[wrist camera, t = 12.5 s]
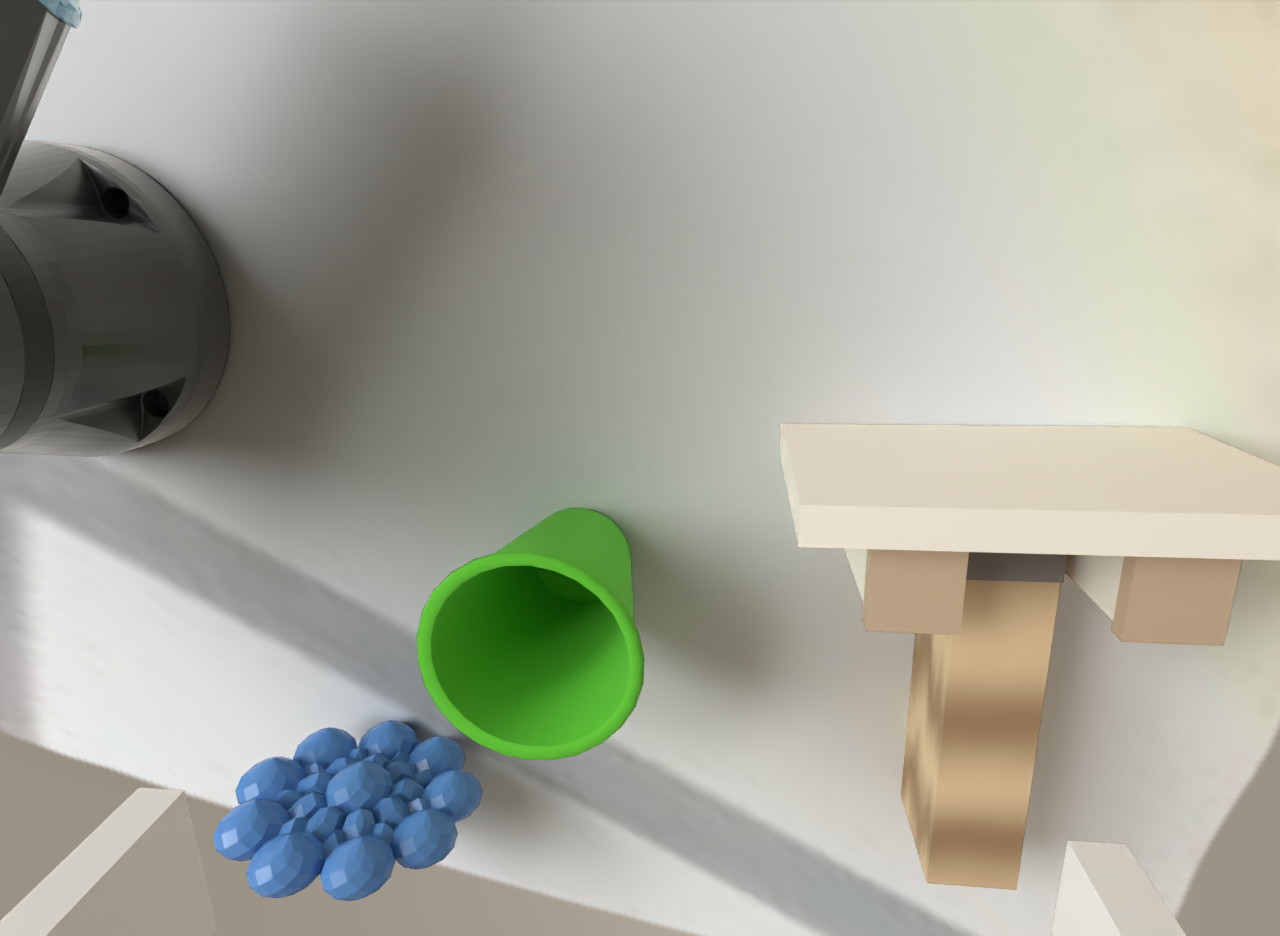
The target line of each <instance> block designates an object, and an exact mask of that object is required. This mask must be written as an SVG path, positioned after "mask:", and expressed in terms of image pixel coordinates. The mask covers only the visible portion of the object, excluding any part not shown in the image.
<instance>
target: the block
mask: <svg viewBox="0 0 1280 936" xmlns="http://www.w3.org/2000/svg"><path fill="white" fill-rule="evenodd" d="M1066 559H1067V555H1063V554H1026V553H990V552H969V556H968V566H967V575H966V584H965V593H964V603H963V612H962V621H961V630H960V635H947V634H922V633H915V644H914V655H913V667H912V678H911V689H910V701H909V712H908V723H907V735H906V746H905V757H904V768H903V780H902V791H901V797H902V800H903V804H904V807H905V810H906V814H907V817H908V820H909V824H910V827H911V831H912V834H913V837H914V841H915V844H916V848H917V851H918V854H919V858H920V861H921V864H922V868H923V871H924V875H925V878H926V881H927V883H933V884H947V885H960V886H973V887H986V888H999V889H1012V890H1016V889H1017V882H1018V875H1019V868H1020V861H1021V854H1022V847H1023V840H1024V833H1025V826H1026V819H1027V812H1028V805H1029V799H1030V792H1031V785H1032V778H1033V771H1034V764H1035V757H1036V750H1037V743H1038V736H1039V729H1040V722H1041V715H1042V708H1043V702H1044V695H1045V688H1046V681H1047V674H1048V667H1049V660H1050V653H1051V646H1052V639H1053V632H1054V625H1055V618H1056V611H1057V605H1058V598H1059V591H1060V584H1061V583H1063V580H1064V573H1065V566H1066Z"/></svg>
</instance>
